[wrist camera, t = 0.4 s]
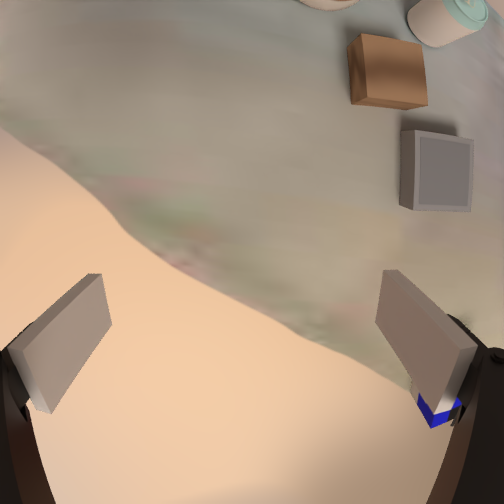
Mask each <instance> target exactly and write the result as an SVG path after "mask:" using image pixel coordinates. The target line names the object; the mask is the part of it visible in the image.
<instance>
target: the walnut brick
mask: <svg viewBox="0 0 504 504" xmlns="http://www.w3.org/2000/svg"><path fill="white" fill-rule="evenodd" d="M347 54H348V65H349V76H350V90H351V104H353V105H365V106H375V107H385V108H393V109H401V110H409V109H414V108H419V107H423V106H428V98H427V86H426V76H425V68H424V60H423V52H422V46H421V45H420V44H416V43H411V42H407V41H402V40H397V39H392V38H387V37H382V36H376V35H370V34H363V33H361V34H360V35H359V36H358V37H357V38H356V39H355V40H354V41H353V42H352V43H351V44H350V45H349V46H348V47H347Z"/></svg>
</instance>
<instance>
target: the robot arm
mask: <svg viewBox="0 0 504 504" xmlns="http://www.w3.org/2000/svg"><path fill="white" fill-rule="evenodd" d="M375 323H376V324H377V326H378V327H379V329H380V330H381V332H382V333H383V335H384V336H385V338H386V339H387V341H388V342H389V344H390V345H391V347H392V348H393V350H394V351H395V353H396V354H397V356H398V358H399V359H400V361H401V362H402V364H403V365H404V367H405V369H406V370H407V372H408V373H409V375H410V376H411V378H412V380H413V381H414V383H415V384H416V386H417V388H418V389H419V391H420V393H421V394H422V396H423V397H424V399H425V401H426V402H427V404H428V406H429V407H430V409H431V411H432V412H433V414H438V413H441V412H445V411H448V410H451V408H452V406H453V404H454V402H455V400H456V398H457V397H458V399H459V400H460V402H461V403H462V404H461V406H460V408H459V410H458V412H457V414H456V416H455V418H454V420H453V422H452V424H451V426H454V428H453V432H452V435H451V438H450V441H449V445H448V448H447V451H446V454H445V457H444V460H443V463H442V465H441V468H440V471H439V474H438V476H437V479H436V481H435V484H434V486H433V489H432V491H431V494H430V496H429V498H428V501H427V503H426V504H504V349H501V348H496V347H493V348H487V347H486V346H485V345H484V344H483V343H482V342H481V341H480V340H479V339H478V338H477V337H476V336H475V335H474V334H473V333H471V331H470V330H469V329H468V328H467V327H465V325H464V324H463V323H462V322H460V321H459V320H458V319H457V318H455V317H453V316H451V315H449V314H446V313H444V312H443V311H442V310H441V309H440V308H439V307H438V306H437V305H436V304H435V303H434V302H433V301H432V300H431V299H430V298H428V297H427V296H426V295H425V294H424V293H423V292H422V291H421V290H420V289H419V288H417V287H416V286H415V285H414V284H413V283H412V282H411V281H410V280H409V279H407V278H406V277H405V276H404V275H403V274H402V273H401V272H400V271H398V270H383V276H382V283H381V290H380V296H379V303H378V309H377V315H376V320H375ZM111 325H112V322H111V318H110V313H109V309H108V304H107V300H106V295H105V289H104V284H103V279H102V274H88V275H86V276H85V277H84V278H83V279H81V280H80V281H79V282H78V283H77V284H76V285H74V286H73V287H72V288H71V289H70V290H69V291H68V292H67V293H65V294H64V295H63V296H62V297H61V298H60V299H58V300H57V301H56V302H55V303H54V304H53V305H52V306H51V307H50V308H49V309H47V310H46V311H45V312H44V313H43V314H42V315H41V316H40V317H38V319H36V320H35V321H34V322H32V323H30V324H29V325H28V326H27V327H26V328H25V329H24V330H23V332H20V333H19V334H18V335H17V337H15V338H14V339H13V340H12V341H11V342H10V343H9V344H8V345H7V346H6V347H5V348H4V349H3V350H2V351H0V504H56V503H55V500H54V497H53V495H52V492H51V489H50V486H49V483H48V481H47V477H46V474H45V471H44V468H43V465H42V462H41V458H40V454H39V451H38V447H37V443H36V439H35V435H34V431H33V426H32V422H31V417H30V412H29V410H28V407H27V406H26V402H27V401H28V400H29V398H30V399H31V401H32V403H33V404H34V406H35V408H36V410H39V411H43V412H46V413H50V414H52V413H53V411H54V409H55V408H56V406H57V405H58V403H59V402H60V400H61V398H62V397H63V395H64V394H65V392H66V391H67V389H68V388H69V386H70V385H71V383H72V382H73V380H74V379H75V377H76V376H77V374H78V373H79V371H80V370H81V368H82V367H83V365H84V364H85V362H86V361H87V359H88V358H89V357H90V355H91V354H92V352H93V351H94V349H95V348H96V346H97V345H98V344H99V342H100V341H101V339H102V338H103V337H104V335H105V334H106V332H107V331H108V330H109V328H110V327H111Z"/></svg>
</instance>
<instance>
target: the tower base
mask: <svg viewBox="0 0 504 504" xmlns="http://www.w3.org/2000/svg"><path fill="white" fill-rule="evenodd" d="M473 167H474V140H473V139H468V138H463V137H457V136H452V135H446V134H440V133H434V132H427V131H420V130H407V131H401V180H400V204H399V205H401V206H403V207H406V208H408V209H411V210H417V211H452V212H471V203H472V189H473Z"/></svg>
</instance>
